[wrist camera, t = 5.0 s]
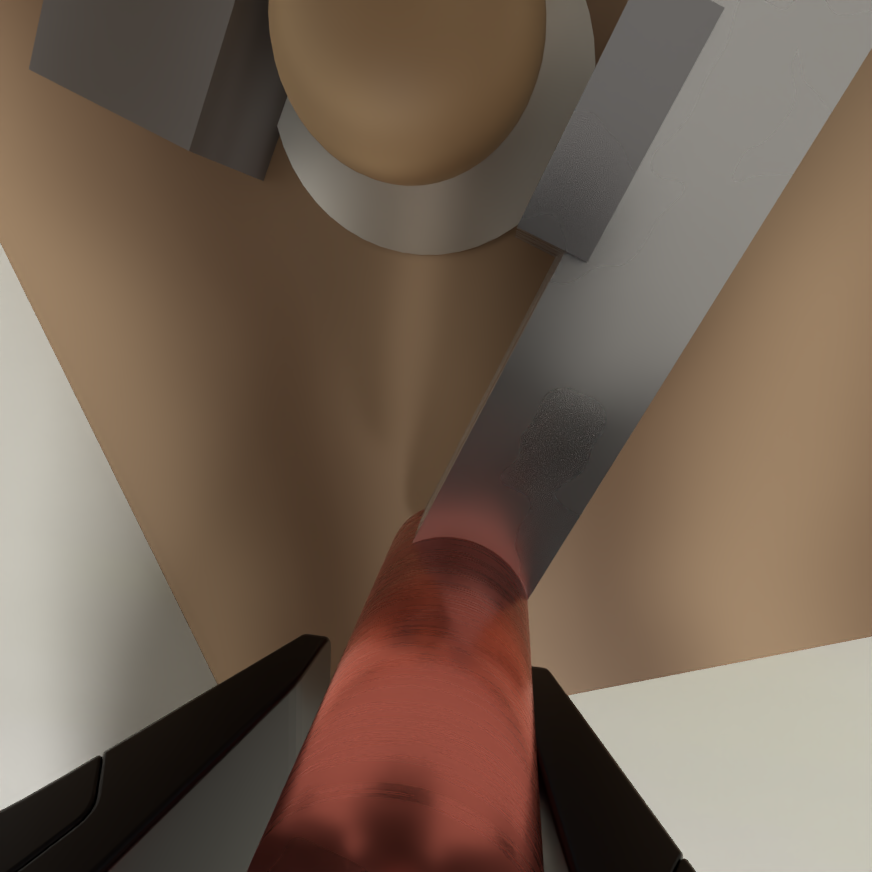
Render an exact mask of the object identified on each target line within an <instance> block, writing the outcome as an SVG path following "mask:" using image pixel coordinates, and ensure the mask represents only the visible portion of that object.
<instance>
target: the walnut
mask: <svg viewBox="0 0 872 872" xmlns="http://www.w3.org/2000/svg"><path fill="white" fill-rule="evenodd" d="M268 17H269V31H270V38H271V43H272V49H273V54H274V60H275V63H276V67H277V70H278V73H279V77H280V80H281V82H282V85H283V87H284V89H285V92H286V94H287V96H288V99H289V100H290V102H291V104H292V106H293V108H294V110H295V111H296V113H297V115H298V117H299V118H300V120H301V122H302V123H303V124H304V126H305V127H306V128H307V130H308V131H309V132H310V134H311V135H312V136H313V137H314V138H315V139H316V140H317V141H318V142H319V143H320V144H321V145H322V146H323V148H324V149H325V150H326V151H327V152H328V153H330V154H331V155H332V156H333V157H335V158H336V159H337V160H338V161H340V162H341V163H342V164H344V165H346V166H347V167H349V168H351V169H352V170H354V171H356V172H358V173H360V174H362V175H365V176H367V177H369V178H372V179H374V180H377V181H381V182H385V183H389V184H395V185H403V186H420V185H428V184H433V183H439V182H442V181H445V180H448V179H451V178H454V177H456V176H458V175H460V174H462V173H464V172H466V171H468V170H470V169H471V168H473V167H475V166H476V165H478V164H479V163H481V162H482V161H483V160H485V159H486V158H487V157H488V156H489V155H490V154H492V153H493V152H494V151H495V150H496V149H497V148H498V147H499V146H500V145H501V144H502V142H503V141H504V140H505V139H506V138H507V137H508V136H509V134H510V133H511V131H512V130H513V129H514V127H515V126H516V124H517V123H518V122H519V120H520V118H521V116H522V114H523V112H524V111H525V109H526V107H527V105H528V103H529V100H530V98H531V95H532V93H533V90H534V88H535V85H536V82H537V79H538V75H539V71H540V68H541V64H542V60H543V53H544V47H545V40H546V1H545V0H269V4H268Z"/></svg>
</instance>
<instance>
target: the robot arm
mask: <svg viewBox="0 0 872 872" xmlns="http://www.w3.org/2000/svg"><path fill="white" fill-rule="evenodd" d="M330 670H331V642H330V639H329V638H328V637H326V636H320V635H313V634H303V635H301V636H299V637H298V638H296V639H294V640H293V641H291V642H289V643H287V644H286V645H284V646H282V647H281V648H279V649H277V650H276V651H274V652H272V653H271V654H269V655H267V656H266V657H264V658H262V659H260V660H259V661H257V662H255V663H254V664H252V665H250V666H249V667H247V668H245V669H244V670H242V671H240V672H239V673H237V674H235V675H233V676H232V677H230V678H228V679H227V680H225V681H223V682H222V683H220V684H218V685H217V686H215V687H213V688H212V689H210V690H208V691H206V692H205V693H203V694H201V695H200V696H198V697H196V698H195V699H193V700H191V701H190V702H188V703H186V704H184V705H183V706H181V707H179V708H178V709H176V710H174V711H173V712H171V713H169V714H168V715H166V716H164V717H163V718H161V719H159V720H157V721H156V722H154V723H152V724H151V725H149V726H147V727H146V728H144V729H142V730H141V731H139V732H137V733H136V734H134V735H132V736H130V737H129V738H127V739H125V740H124V741H122V742H120V743H119V744H117V745H115V746H114V747H112V748H110V749H109V750H107V751H105V752H104V753H103V757H101V756H96V757H95V758H93V759H91V760H90V761H88V762H86V763H85V764H83V765H81V766H79V767H78V768H76V769H74V770H73V771H71V772H69V773H68V774H66V775H64V776H62V777H61V778H59V779H57V780H55V781H53V782H52V783H50V784H48V785H46V786H45V787H43V788H41V789H39V790H38V791H36V792H34V793H32V794H31V795H29V796H27V797H25V798H24V799H22V800H20V801H18V802H16V803H14V804H12V805H10V806H9V807H7V808H5V809H3V810H1V811H0V872H247V870H248V868H249V865H250V863H251V861H252V858H253V856H254V854H255V852H256V849H257V847H258V845H259V843H260V840H261V838H262V836H263V834H264V831H265V829H266V827H267V824H268V822H269V820H270V818H271V815H272V813H273V811H274V809H275V806H276V804H277V802H278V800H279V797H280V795H281V793H282V791H283V788H284V786H285V784H286V781H287V779H288V777H289V775H290V772H291V770H292V768H293V766H294V763H295V761H296V759H297V757H298V754H299V752H300V750H301V748H302V745H303V743H304V741H305V739H306V736H307V734H308V732H309V729H310V727H311V725H312V723H313V720H314V718H315V716H316V714H317V711H318V709H319V707H320V705H321V702H322V700H323V698H324V696H325V693H326V691H327V689H328V687H329V684H330ZM532 681H533V697H534V714H535V730H536V747H537V764H538V780H539V797H540V813H541V830H542V846H543V863H544V872H696V871H695V870H694V868H693V867H692V865H691V864H690V863H689V861H688V860H687V859H682V858H683V854H682V852H681V851H680V849H679V848H678V847H677V845H676V844H675V843H674V841H673V840H672V838H671V837H670V836H669V834H668V833H667V832H666V830H665V829H664V827H663V826H662V825H661V823H660V822H659V821H658V819H657V818H656V816H655V815H654V814H653V812H652V811H651V810H650V808H649V807H648V805H647V804H646V803H645V801H644V800H643V799H642V797H641V796H640V794H639V793H638V792H637V790H636V789H635V788H634V786H633V785H632V783H631V782H630V781H629V779H628V778H627V777H626V775H625V774H624V772H623V771H622V770H621V768H620V767H619V766H618V764H617V763H616V761H615V760H614V759H613V757H612V756H611V755H610V753H609V752H608V750H607V749H606V748H605V746H604V745H603V744H602V742H601V741H600V739H599V738H598V737H597V735H596V734H595V733H594V731H593V730H592V728H591V727H590V726H589V724H588V723H587V722H586V720H585V719H584V717H583V716H582V715H581V713H580V712H579V711H578V709H577V708H576V706H575V705H574V704H573V702H572V701H571V700H570V698H569V697H568V695H567V694H566V693H565V691H564V690H563V689H562V687H561V686H560V684H559V683H558V682H557V680H556V679H555V678H554V676H553V675H552V673H551V672H550V671H549V670H548V669H547V668H543V667H536V666H532Z"/></svg>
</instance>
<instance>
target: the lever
mask: <svg viewBox="0 0 872 872" xmlns="http://www.w3.org/2000/svg"><path fill="white" fill-rule="evenodd" d="M871 49H872V0H628V2H627V4H626V6H625V8H624V10H623V12H622V14H621V16H620V18H619V20H618V22H617V25H616V27H615V29H614V31H613V33H612V35H611V37H610V39H609V41H608V43H607V45H606V47H605V49H604V51H603V53H602V55H601V57H600V59H599V61H598V63H597V65H596V67H595V69H594V71H593V73H592V75H591V77H590V79H589V81H588V83H587V86H586V88H585V90H584V92H583V94H582V96H581V98H580V100H579V102H578V104H577V106H576V108H575V110H574V112H573V114H572V116H571V118H570V120H569V122H568V124H567V126H566V128H565V130H564V132H563V134H562V136H561V138H560V140H559V142H558V144H557V147H556V149H555V151H554V153H553V155H552V157H551V159H550V161H549V163H548V165H547V167H546V169H545V171H544V173H543V175H542V177H541V179H540V181H539V183H538V185H537V187H536V189H535V191H534V193H533V195H532V197H531V199H530V201H529V203H528V206H527V208H526V210H525V212H524V214H523V216H522V218H521V220H520V222H519V224H518V226H517V230H516V236H515V237H516V238H518V239H520V240H522V241H524V242H526V243H528V244H530V245H532V246H534V247H536V248H538V249H540V250H542V251H544V252H546V253H548V254H550V255H552V256H554V257H556V258H555V260H554V262H553V263H552V265H551V267H550V269H549V271H548V273H547V275H546V277H545V279H544V281H543V283H542V285H541V287H540V288H539V290H538V292H537V294H536V296H535V298H534V300H533V302H532V304H531V306H530V308H529V310H528V311H527V313H526V315H525V317H524V319H523V321H522V323H521V325H520V327H519V329H518V331H517V333H516V334H515V336H514V338H513V340H512V342H511V344H510V346H509V348H508V350H507V352H506V354H505V356H504V357H503V359H502V361H501V363H500V365H499V367H498V369H497V371H496V373H495V375H494V377H493V379H492V381H491V382H490V384H489V386H488V388H487V390H486V392H485V394H484V396H483V398H482V400H481V402H480V404H479V405H478V407H477V409H476V411H475V413H474V415H473V417H472V419H471V421H470V423H469V425H468V427H467V428H466V430H465V432H464V434H463V436H462V438H461V440H460V442H459V444H458V446H457V448H456V450H455V451H454V453H453V455H452V457H451V459H450V461H449V463H448V465H447V467H446V469H445V471H444V473H443V475H442V476H441V478H440V480H439V482H438V484H437V486H436V488H435V490H434V492H433V494H432V496H431V498H430V499H429V501H428V503H427V505H426V507H425V508H424V509H422V510H420V511H418V512H417V513H415V514H414V515H413V516H411V517H410V518H409V519H408V520H407V521H406V522H405V523H404V524H403V525H402V526H401V527H400V529H399V530H398V532H397V534H396V535H395V537H394V540H393V542H392V544H391V546H390V549H389V551H388V553H387V555H386V558H385V560H384V562H383V564H382V567H381V569H380V571H379V573H378V576H377V578H376V580H375V583H374V585H373V587H372V589H371V592H370V594H369V596H368V598H367V601H366V603H365V605H364V607H363V610H362V612H361V614H360V616H359V619H358V621H357V623H356V625H355V628H354V630H353V632H352V635H351V637H350V639H349V641H348V644H347V646H346V648H345V650H344V653H343V655H342V657H341V659H340V662H339V664H338V666H337V668H336V671H335V673H334V675H333V677H332V680H331V682H330V684H329V687H328V689H327V691H326V693H325V696H324V698H323V700H322V702H321V705H320V707H319V709H318V711H317V714H316V716H315V718H314V720H313V723H312V725H311V727H310V729H309V732H308V734H307V736H306V739H305V741H304V743H303V745H302V748H301V750H300V752H299V754H298V757H297V759H296V761H295V763H294V766H293V768H292V770H291V772H290V775H289V777H288V779H287V781H286V784H285V786H284V788H283V791H282V793H281V795H280V797H279V800H278V802H277V804H276V806H275V809H274V811H273V813H272V815H271V818H270V820H269V822H268V824H267V827H266V829H265V831H264V834H263V836H262V838H261V840H260V843H259V845H258V847H257V849H256V852H255V854H254V856H253V858H252V861H251V863H250V865H249V868H248V870H247V872H544V863H543V846H542V830H541V813H540V797H539V780H538V764H537V747H536V730H535V714H534V697H533V681H532V664H531V648H530V631H529V615H528V599H529V597H530V596H531V594H532V592H533V591H534V589H535V588H536V586H537V584H538V583H539V581H540V580H541V578H542V576H543V575H544V573H545V571H546V570H547V568H548V567H549V565H550V563H551V562H552V560H553V559H554V557H555V555H556V554H557V552H558V551H559V549H560V547H561V546H562V544H563V543H564V541H565V539H566V538H567V536H568V535H569V533H570V531H571V530H572V528H573V527H574V525H575V523H576V522H577V520H578V519H579V517H580V515H581V514H582V512H583V511H584V509H585V507H586V506H587V504H588V503H589V501H590V499H591V498H592V496H593V495H594V493H595V491H596V490H597V488H598V486H599V485H600V483H601V482H602V480H603V478H604V477H605V475H606V474H607V472H608V470H609V469H610V467H611V466H612V464H613V462H614V461H615V459H616V458H617V456H618V454H619V453H620V451H621V450H622V448H623V446H624V445H625V443H626V442H627V440H628V438H629V437H630V435H631V434H632V432H633V430H634V429H635V427H636V426H637V424H638V422H639V421H640V419H641V418H642V416H643V414H644V413H645V411H646V409H647V408H648V406H649V405H650V403H651V401H652V400H653V398H654V397H655V395H656V393H657V392H658V390H659V389H660V387H661V385H662V384H663V382H664V381H665V379H666V377H667V376H668V374H669V373H670V371H671V369H672V368H673V366H674V365H675V363H676V361H677V360H678V358H679V357H680V355H681V353H682V352H683V350H684V349H685V347H686V345H687V344H688V342H689V341H690V339H691V337H692V336H693V334H694V333H695V331H696V329H697V328H698V326H699V324H700V323H701V321H702V320H703V318H704V316H705V315H706V313H707V312H708V310H709V308H710V307H711V305H712V304H713V302H714V300H715V299H716V297H717V296H718V294H719V292H720V291H721V289H722V288H723V286H724V284H725V283H726V281H727V280H728V278H729V276H730V275H731V273H732V272H733V270H734V268H735V267H736V265H737V264H738V262H739V260H740V259H741V257H742V256H743V254H744V252H745V251H746V249H747V247H748V246H749V244H750V243H751V241H752V239H753V238H754V236H755V235H756V233H757V231H758V230H759V228H760V227H761V225H762V223H763V222H764V220H765V219H766V217H767V215H768V214H769V212H770V211H771V209H772V207H773V206H774V204H775V203H776V201H777V199H778V198H779V196H780V195H781V193H782V191H783V190H784V188H785V187H786V185H787V183H788V182H789V180H790V179H791V177H792V175H793V174H794V172H795V170H796V169H797V167H798V166H799V164H800V162H801V161H802V159H803V158H804V156H805V154H806V153H807V151H808V150H809V148H810V146H811V145H812V143H813V142H814V140H815V138H816V137H817V135H818V134H819V132H820V130H821V129H822V127H823V126H824V124H825V122H826V121H827V119H828V118H829V116H830V114H831V113H832V111H833V110H834V108H835V106H836V105H837V103H838V102H839V100H840V98H841V97H842V95H843V94H844V92H845V90H846V89H847V87H848V85H849V84H850V82H851V81H852V79H853V77H854V76H855V74H856V73H857V71H858V69H859V68H860V66H861V65H862V63H863V61H864V60H865V58H866V57H867V55H868V53H869V52H870V50H871Z"/></svg>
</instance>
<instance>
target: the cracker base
mask: <svg viewBox="0 0 872 872" xmlns="http://www.w3.org/2000/svg"><path fill="white" fill-rule="evenodd" d="M545 1H546V40H545V47H544V53H543V60H542V64H541V68H540V71H539V75H538V79H537V82H536V85H535V88H534V90H533V93H532V95H531V98H530V100H529V103H528V105H527V107H526V109H525V111H524V112H523V114H522V116H521V118H520V120H519V122H518V123H517V124H516V126H515V127H514V129H513V130H512V131H511V133H510V134H509V136H508V137H507V138H506V139H505V140H504V141H503V142H502V144H501V145H500V146H499V147H498V148H497V149H496V150H495V151H494V152H493V153H492V154H490V155H489V156H488V157H487V158H486V159H485V160H483V161H482V162H481V163H479V164H478V165H476V166H475V167H473V168H471V169H470V170H468V171H466V172H464V173H462V174H460V175H458V176H456V177H454V178H451V179H448V180H445V181H442V182H439V183H433V184H428V185H420V186H403V185H395V184H389V183H385V182H381V181H377V180H374V179H372V178H369V177H367V176H365V175H362V174H360V173H358V172H356V171H354V170H352V169H351V168H349V167H347V166H346V165H344V164H342V163H341V162H340V161H338V160H337V159H336V158H335V157H333V156H332V155H331V154H330V153H328V152H327V151H326V150H325V149H324V148H323V146H322V145H321V144H320V143H319V142H318V141H317V140H316V139H315V138H314V137H313V136H312V135H311V134H310V132H309V131H308V130H307V128H306V127H305V126H304V124H303V123H302V122H301V120H300V118H299V117H298V115H297V113H296V111H295V110H294V108H293V106H292V104H291V102H290V100H289V99H288V96H287V94H286V92H285V89H284V87H283V85H282V82H281V80H280V77H279V73H278V70H277V67H276V63H275V60H274V54H273V49H272V43H271V38H270V31H269V17H268V4H269V0H0V243H1V245H2V247H3V249H4V251H5V253H6V255H7V257H8V259H9V261H10V263H11V265H12V267H13V269H14V271H15V273H16V275H17V277H18V279H19V281H20V284H21V286H22V288H23V290H24V292H25V294H26V296H27V298H28V300H29V302H30V304H31V306H32V308H33V310H34V312H35V314H36V316H37V318H38V320H39V322H40V324H41V326H42V328H43V330H44V332H45V334H46V336H47V338H48V340H49V342H50V345H51V347H52V349H53V351H54V353H55V355H56V357H57V359H58V361H59V363H60V365H61V367H62V369H63V371H64V373H65V375H66V377H67V379H68V381H69V383H70V385H71V387H72V389H73V391H74V393H75V395H76V397H77V399H78V401H79V403H80V406H81V408H82V410H83V412H84V414H85V416H86V418H87V420H88V422H89V424H90V426H91V428H92V430H93V432H94V434H95V436H96V438H97V440H98V442H99V444H100V446H101V448H102V450H103V452H104V454H105V456H106V458H107V460H108V462H109V464H110V466H111V469H112V471H113V473H114V475H115V477H116V479H117V481H118V483H119V485H120V487H121V489H122V491H123V493H124V495H125V497H126V499H127V501H128V503H129V505H130V507H131V509H132V511H133V513H134V515H135V517H136V519H137V521H138V523H139V525H140V527H141V530H142V532H143V534H144V536H145V538H146V540H147V542H148V544H149V546H150V548H151V550H152V552H153V554H154V556H155V558H156V560H157V562H158V564H159V566H160V568H161V570H162V572H163V574H164V576H165V578H166V580H167V582H168V584H169V586H170V588H171V591H172V593H173V595H174V597H175V599H176V601H177V603H178V605H179V607H180V609H181V611H182V613H183V615H184V617H185V619H186V621H187V623H188V625H189V627H190V629H191V631H192V633H193V635H194V637H195V639H196V641H197V643H198V645H199V647H200V649H201V652H202V654H203V656H204V658H205V660H206V662H207V664H208V666H209V668H210V670H211V672H212V674H213V676H214V678H215V680H216V682H217V684H220V683H222V682H223V681H225V680H227V679H228V678H230V677H232V676H233V675H235V674H237V673H239V672H240V671H242V670H244V669H245V668H247V667H249V666H250V665H252V664H254V663H255V662H257V661H259V660H260V659H262V658H264V657H266V656H267V655H269V654H271V653H272V652H274V651H276V650H277V649H279V648H281V647H282V646H284V645H286V644H287V643H289V642H291V641H293V640H294V639H296V638H298V637H299V636H301V635H303V634H313V635H320V636H326V637H328V638H329V639H330V642H331V670H330V682H331V680H332V677H333V675H334V673H335V671H336V668H337V666H338V664H339V662H340V659H341V657H342V655H343V653H344V650H345V648H346V646H347V644H348V641H349V639H350V637H351V635H352V632H353V630H354V628H355V625H356V623H357V621H358V619H359V616H360V614H361V612H362V610H363V607H364V605H365V603H366V601H367V598H368V596H369V594H370V592H371V589H372V587H373V585H374V583H375V580H376V578H377V576H378V573H379V571H380V569H381V567H382V564H383V562H384V560H385V558H386V555H387V553H388V551H389V549H390V546H391V544H392V542H393V540H394V537H395V535H396V534H397V532H398V530H399V529H400V527H401V526H402V525H403V524H404V523H405V522H406V521H407V520H408V519H409V518H410V517H411V516H413V515H414V514H415V513H417V512H418V511H420V510H422V509H424V508H425V507H426V505H427V503H428V501H429V499H430V498H431V496H432V494H433V492H434V490H435V488H436V486H437V484H438V482H439V480H440V478H441V476H442V475H443V473H444V471H445V469H446V467H447V465H448V463H449V461H450V459H451V457H452V455H453V453H454V451H455V450H456V448H457V446H458V444H459V442H460V440H461V438H462V436H463V434H464V432H465V430H466V428H467V427H468V425H469V423H470V421H471V419H472V417H473V415H474V413H475V411H476V409H477V407H478V405H479V404H480V402H481V400H482V398H483V396H484V394H485V392H486V390H487V388H488V386H489V384H490V382H491V381H492V379H493V377H494V375H495V373H496V371H497V369H498V367H499V365H500V363H501V361H502V359H503V357H504V356H505V354H506V352H507V350H508V348H509V346H510V344H511V342H512V340H513V338H514V336H515V334H516V333H517V331H518V329H519V327H520V325H521V323H522V321H523V319H524V317H525V315H526V313H527V311H528V310H529V308H530V306H531V304H532V302H533V300H534V298H535V296H536V294H537V292H538V290H539V288H540V287H541V285H542V283H543V281H544V279H545V277H546V275H547V273H548V271H549V269H550V267H551V265H552V263H553V262H554V260H555V258H556V257H554V256H552V255H550V254H548V253H546V252H544V251H542V250H540V249H538V248H536V247H534V246H532V245H530V244H528V243H526V242H524V241H522V240H520V239H518V238H516V237H515V236H516V230H517V226H518V224H519V222H520V220H521V218H522V216H523V214H524V212H525V210H526V208H527V206H528V203H529V201H530V199H531V197H532V195H533V193H534V191H535V189H536V187H537V185H538V183H539V181H540V179H541V177H542V175H543V173H544V171H545V169H546V167H547V165H548V163H549V161H550V159H551V157H552V155H553V153H554V151H555V149H556V147H557V144H558V142H559V140H560V138H561V136H562V134H563V132H564V130H565V128H566V126H567V124H568V122H569V120H570V118H571V116H572V114H573V112H574V110H575V108H576V106H577V104H578V102H579V100H580V98H581V96H582V94H583V92H584V90H585V88H586V86H587V83H588V81H589V79H590V77H591V75H592V73H593V71H594V69H595V67H596V65H597V63H598V61H599V59H600V57H601V55H602V53H603V51H604V49H605V47H606V45H607V43H608V41H609V39H610V37H611V35H612V33H613V31H614V29H615V27H616V25H617V22H618V20H619V18H620V16H621V14H622V12H623V10H624V8H625V6H626V4H627V2H628V0H545ZM528 615H529V631H530V648H531V664H532V666H536V667H543V668H547V669H548V670H549V671H550V672H551V673H552V675H553V676H554V678H555V679H556V680H557V682H558V683H559V684H560V686H561V687H562V689H563V690H564V691H565V693H566V694H567V695H572V694H577V693H582V692H587V691H592V690H597V689H603V688H608V687H613V686H618V685H623V684H628V683H633V682H639V681H644V680H649V679H654V678H659V677H664V676H670V675H675V674H680V673H685V672H690V671H695V670H701V669H706V668H711V667H716V666H721V665H726V664H732V663H737V662H742V661H747V660H752V659H757V658H763V657H768V656H773V655H778V654H783V653H788V652H794V651H799V650H804V649H809V648H814V647H819V646H825V645H830V644H835V643H840V642H845V641H850V640H855V639H861V638H866V637H871V636H872V49H871V50H870V52H869V53H868V55H867V57H866V58H865V60H864V61H863V63H862V65H861V66H860V68H859V69H858V71H857V73H856V74H855V76H854V77H853V79H852V81H851V82H850V84H849V85H848V87H847V89H846V90H845V92H844V94H843V95H842V97H841V98H840V100H839V102H838V103H837V105H836V106H835V108H834V110H833V111H832V113H831V114H830V116H829V118H828V119H827V121H826V122H825V124H824V126H823V127H822V129H821V130H820V132H819V134H818V135H817V137H816V138H815V140H814V142H813V143H812V145H811V146H810V148H809V150H808V151H807V153H806V154H805V156H804V158H803V159H802V161H801V162H800V164H799V166H798V167H797V169H796V170H795V172H794V174H793V175H792V177H791V179H790V180H789V182H788V183H787V185H786V187H785V188H784V190H783V191H782V193H781V195H780V196H779V198H778V199H777V201H776V203H775V204H774V206H773V207H772V209H771V211H770V212H769V214H768V215H767V217H766V219H765V220H764V222H763V223H762V225H761V227H760V228H759V230H758V231H757V233H756V235H755V236H754V238H753V239H752V241H751V243H750V244H749V246H748V247H747V249H746V251H745V252H744V254H743V256H742V257H741V259H740V260H739V262H738V264H737V265H736V267H735V268H734V270H733V272H732V273H731V275H730V276H729V278H728V280H727V281H726V283H725V284H724V286H723V288H722V289H721V291H720V292H719V294H718V296H717V297H716V299H715V300H714V302H713V304H712V305H711V307H710V308H709V310H708V312H707V313H706V315H705V316H704V318H703V320H702V321H701V323H700V324H699V326H698V328H697V329H696V331H695V333H694V334H693V336H692V337H691V339H690V341H689V342H688V344H687V345H686V347H685V349H684V350H683V352H682V353H681V355H680V357H679V358H678V360H677V361H676V363H675V365H674V366H673V368H672V369H671V371H670V373H669V374H668V376H667V377H666V379H665V381H664V382H663V384H662V385H661V387H660V389H659V390H658V392H657V393H656V395H655V397H654V398H653V400H652V401H651V403H650V405H649V406H648V408H647V409H646V411H645V413H644V414H643V416H642V418H641V419H640V421H639V422H638V424H637V426H636V427H635V429H634V430H633V432H632V434H631V435H630V437H629V438H628V440H627V442H626V443H625V445H624V446H623V448H622V450H621V451H620V453H619V454H618V456H617V458H616V459H615V461H614V462H613V464H612V466H611V467H610V469H609V470H608V472H607V474H606V475H605V477H604V478H603V480H602V482H601V483H600V485H599V486H598V488H597V490H596V491H595V493H594V495H593V496H592V498H591V499H590V501H589V503H588V504H587V506H586V507H585V509H584V511H583V512H582V514H581V515H580V517H579V519H578V520H577V522H576V523H575V525H574V527H573V528H572V530H571V531H570V533H569V535H568V536H567V538H566V539H565V541H564V543H563V544H562V546H561V547H560V549H559V551H558V552H557V554H556V555H555V557H554V559H553V560H552V562H551V563H550V565H549V567H548V568H547V570H546V571H545V573H544V575H543V576H542V578H541V580H540V581H539V583H538V584H537V586H536V588H535V589H534V591H533V592H532V594H531V596H530V597H529V599H528Z"/></svg>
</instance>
